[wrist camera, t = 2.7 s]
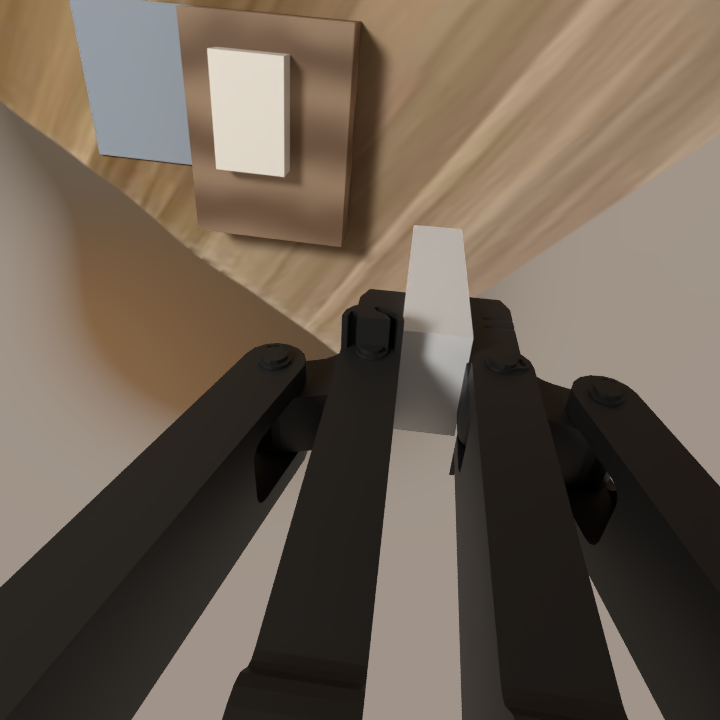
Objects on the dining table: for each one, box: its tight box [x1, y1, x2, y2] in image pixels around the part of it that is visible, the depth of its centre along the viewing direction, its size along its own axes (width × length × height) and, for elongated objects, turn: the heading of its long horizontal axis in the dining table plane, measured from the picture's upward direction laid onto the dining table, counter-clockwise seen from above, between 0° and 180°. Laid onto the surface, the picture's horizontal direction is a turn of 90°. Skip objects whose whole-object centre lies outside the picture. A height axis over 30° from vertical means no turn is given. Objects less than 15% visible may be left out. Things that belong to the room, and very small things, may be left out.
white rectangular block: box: [207, 47, 290, 177], centre depth 43 cm, size 9×6×2 cm, turn 176°
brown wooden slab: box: [176, 5, 361, 247], centre depth 47 cm, size 18×14×4 cm
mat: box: [70, 0, 194, 165], centre depth 47 cm, size 13×11×1 cm
